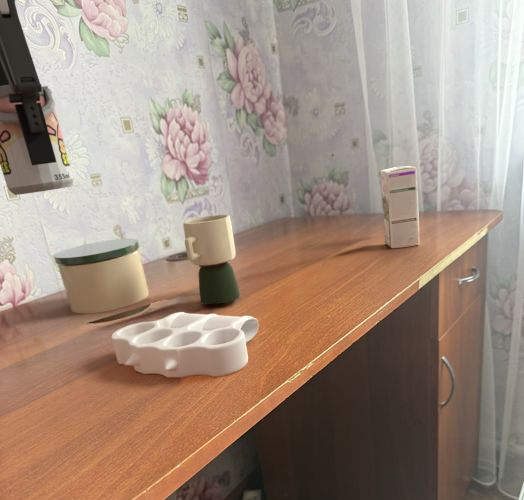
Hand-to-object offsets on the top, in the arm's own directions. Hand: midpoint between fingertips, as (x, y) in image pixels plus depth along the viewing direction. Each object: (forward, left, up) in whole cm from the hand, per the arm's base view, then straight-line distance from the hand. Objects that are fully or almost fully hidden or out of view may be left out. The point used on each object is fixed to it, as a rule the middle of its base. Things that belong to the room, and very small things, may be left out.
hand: (36, 165), depth 64 cm
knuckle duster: (+20, +7, -24) cm, 32 cm away
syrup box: (+5, +62, -24) cm, 67 cm away
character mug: (+5, +20, -24) cm, 31 cm away
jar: (-9, +7, -23) cm, 26 cm away
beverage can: (0, 0, -3) cm, 3 cm away
